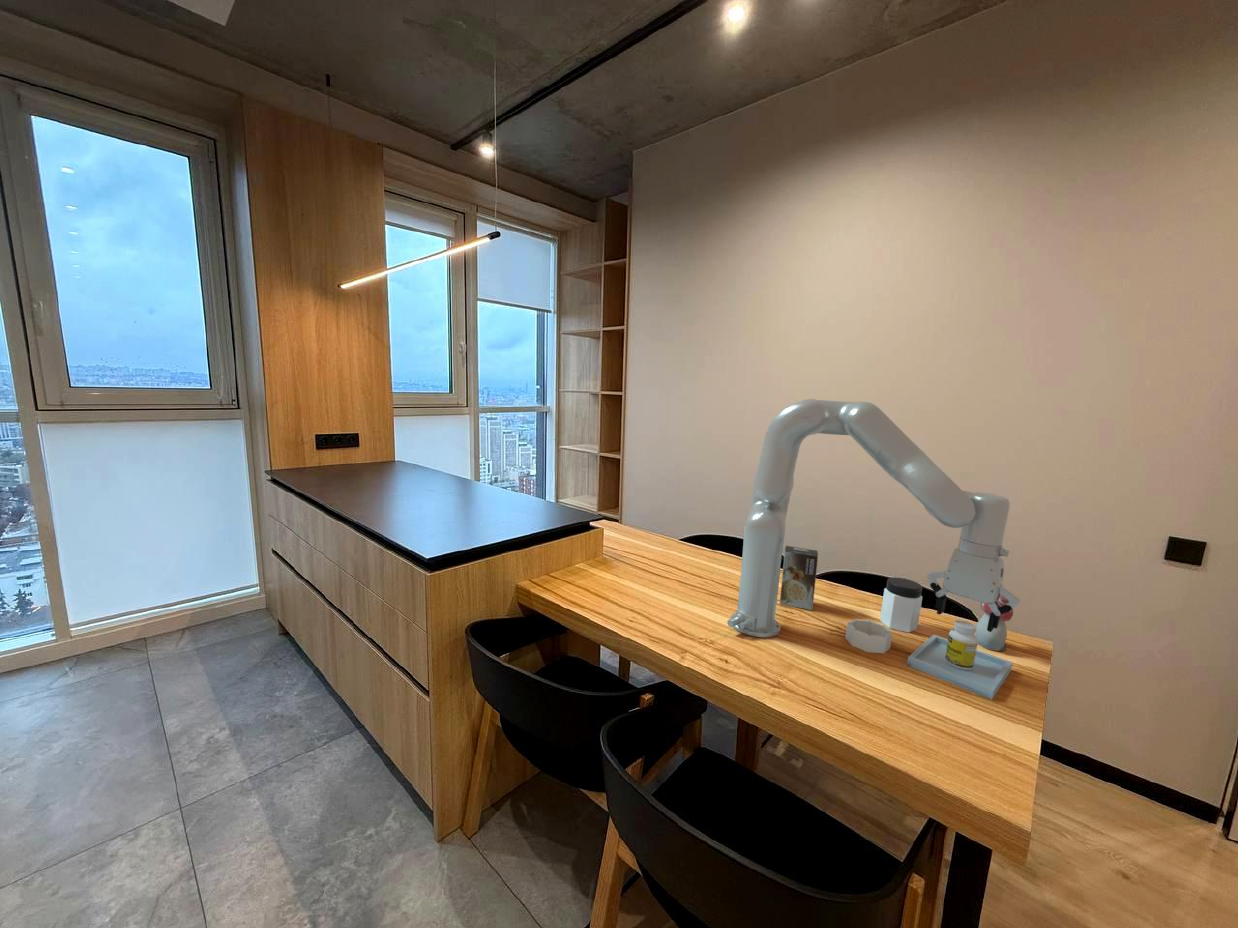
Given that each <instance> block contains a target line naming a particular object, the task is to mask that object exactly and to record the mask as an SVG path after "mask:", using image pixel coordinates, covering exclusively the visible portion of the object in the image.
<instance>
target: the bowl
mask: <svg viewBox="0 0 1238 928" xmlns="http://www.w3.org/2000/svg"><path fill="white" fill-rule="evenodd" d="M845 630H846V631H845V639H846V640H847V642H848V643H849V644H850V646H852V647H854V648H857V649H858V650H859V649H860V650H862V651H864V652H867V653H873V654H875V653H876V654H886V652H888V651H889V650H891V645H892V638H893V632H892V631H891V630H890V629H889V628H887V626H886V625H885V624H881V623H878V622H875V621H873V620H869V619H858V618H854V619H851V620H850V621H848V622H847V623H846V629H845Z"/></svg>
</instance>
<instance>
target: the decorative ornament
mask: <svg viewBox="0 0 1238 928" xmlns="http://www.w3.org/2000/svg"><path fill="white" fill-rule="evenodd" d="M997 601H998V603H999V604H1000V606H1004V605H1006V604H1008V603H1009V600H1008V599H1006V598H1005V597H1004V596H1002V595H1000V598H999V600H997ZM980 609H981V610H982V611H983V612H984V614H983V615H982V616H981V618H979V620H978V621H977V624H976V625H975V627H976V630H975V634H974V635H975V636H976V637H977V639H978V642H977V645H978V644H979V645H980V646H982V647H983V648H985V649H987V650H989V651H995V652H1004V651H1006V650H1007V645H1006V644H1007V643H1006V641H1007V637H1008V636H1007V635H1008V632H1007V625H1006V622H1009V621H1010V620H1011V619H1012V618H1013V615H1014V608H1013V609H1012V610H1011V611H1009V612H1006V613H1004V614H1001V615H1000V619H999V623H998V627H997V629H995V628H994V629H993V630H992V631H991V632H989V631H988V630H987V627H988V622H989V617H990V614H991V613H992V610H991V608H990V607H989V605H988V604H985V603H982V602H980Z"/></svg>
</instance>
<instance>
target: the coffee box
mask: <svg viewBox="0 0 1238 928" xmlns="http://www.w3.org/2000/svg"><path fill="white" fill-rule="evenodd" d="M783 555H784V556H783V566H782V575H781V576H782V577H781V587H780V595H779V598H780V599H779V605H783V606H787V607H793V608H799V609H804V610H808V611H813V609H814V607H813V606H814V597H815V589H816V588H815V587H816V580H817V569H818V567H817V566H818V557H819V552H818V550H816V549H809V548H803V547H796V546H790V545H786V546H785V548H784V554H783Z"/></svg>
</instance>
